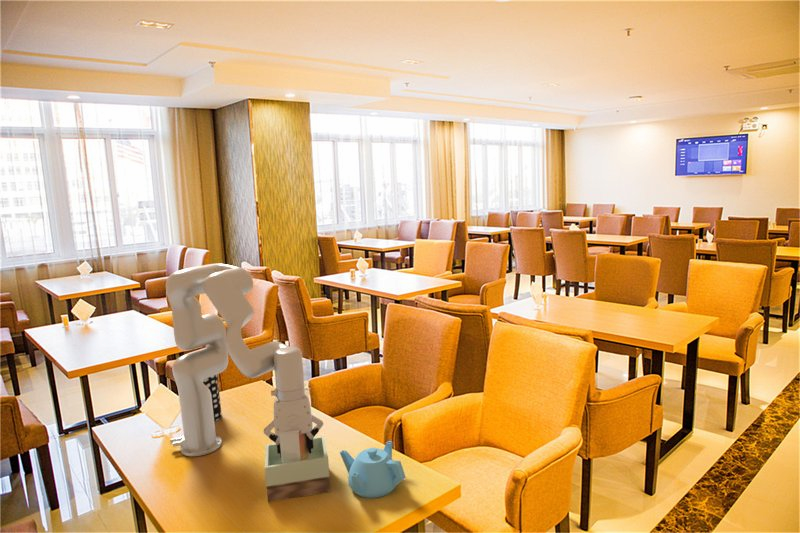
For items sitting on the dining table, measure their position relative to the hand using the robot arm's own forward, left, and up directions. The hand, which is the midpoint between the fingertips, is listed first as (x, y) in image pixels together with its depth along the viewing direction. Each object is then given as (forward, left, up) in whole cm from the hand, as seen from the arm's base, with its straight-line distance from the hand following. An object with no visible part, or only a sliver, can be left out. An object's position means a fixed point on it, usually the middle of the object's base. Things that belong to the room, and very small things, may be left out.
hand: (295, 452), depth 148 cm
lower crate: (0, 0, -9) cm, 9 cm away
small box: (0, 0, -3) cm, 3 cm away
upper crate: (0, 0, -5) cm, 5 cm away
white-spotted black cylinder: (-30, +53, -9) cm, 62 cm away
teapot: (+20, -7, -10) cm, 23 cm away
